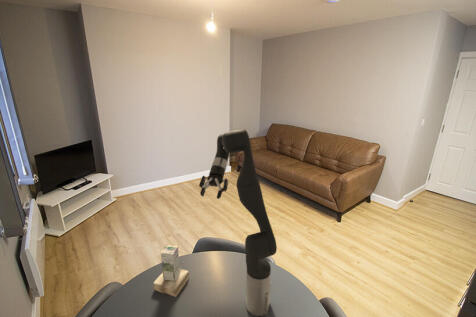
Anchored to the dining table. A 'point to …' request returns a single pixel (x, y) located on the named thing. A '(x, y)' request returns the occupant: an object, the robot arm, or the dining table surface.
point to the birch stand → (171, 283)
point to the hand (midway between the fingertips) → (209, 197)
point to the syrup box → (170, 263)
